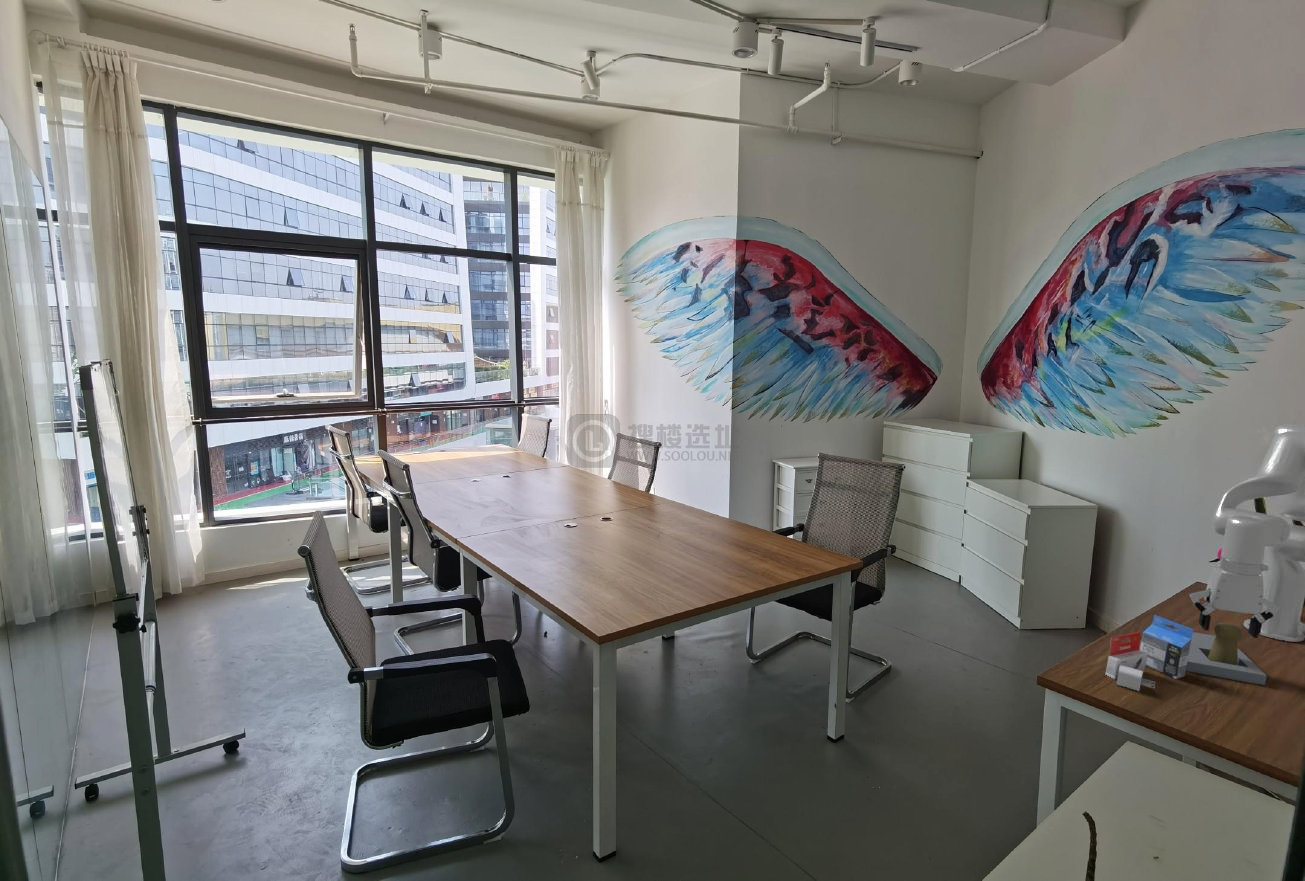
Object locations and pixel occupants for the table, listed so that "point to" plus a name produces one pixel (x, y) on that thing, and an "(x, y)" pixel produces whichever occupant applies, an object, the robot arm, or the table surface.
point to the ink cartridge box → (1125, 654)
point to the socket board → (1203, 665)
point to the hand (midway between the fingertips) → (1228, 631)
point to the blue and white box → (1167, 647)
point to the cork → (1225, 644)
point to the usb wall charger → (1132, 678)
